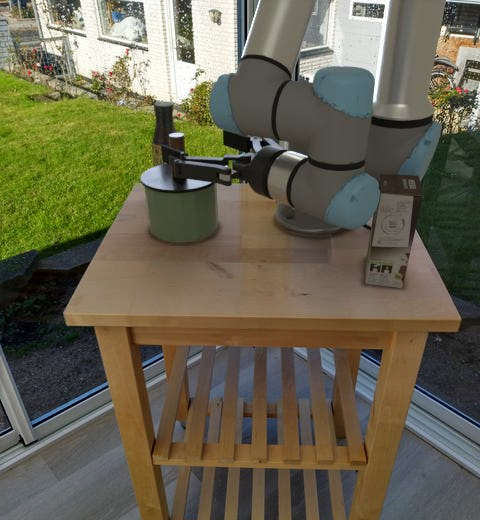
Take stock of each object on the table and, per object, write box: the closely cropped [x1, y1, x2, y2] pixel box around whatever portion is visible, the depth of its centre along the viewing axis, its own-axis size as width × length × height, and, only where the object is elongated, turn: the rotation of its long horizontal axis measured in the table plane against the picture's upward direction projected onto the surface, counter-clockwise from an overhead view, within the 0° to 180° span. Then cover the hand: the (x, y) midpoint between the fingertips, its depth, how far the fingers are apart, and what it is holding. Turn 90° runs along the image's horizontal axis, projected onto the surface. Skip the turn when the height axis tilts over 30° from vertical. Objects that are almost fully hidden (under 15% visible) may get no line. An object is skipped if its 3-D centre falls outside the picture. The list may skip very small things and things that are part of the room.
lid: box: [139, 132, 215, 193], centre depth 92 cm, size 15×15×9 cm
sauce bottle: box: [151, 100, 178, 168], centre depth 110 cm, size 7×6×20 cm
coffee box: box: [364, 174, 425, 289], centre depth 81 cm, size 9×6×16 cm
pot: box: [144, 183, 219, 243], centre depth 98 cm, size 14×14×10 cm
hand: (195, 144), depth 87 cm, fingers open, 13 cm apart
